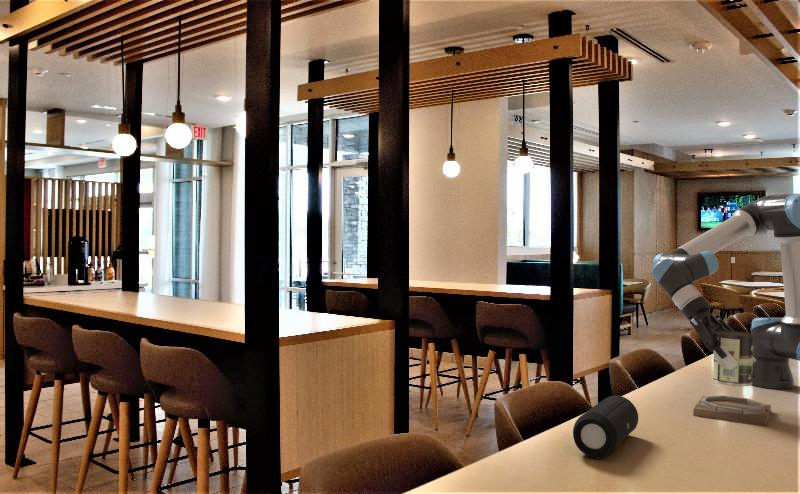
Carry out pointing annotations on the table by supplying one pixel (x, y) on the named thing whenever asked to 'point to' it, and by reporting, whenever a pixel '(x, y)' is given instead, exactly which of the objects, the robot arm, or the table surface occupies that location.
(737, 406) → the collar board
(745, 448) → the table surface
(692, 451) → the table surface
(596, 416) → the portable speaker
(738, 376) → the coffee can
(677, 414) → the table surface
